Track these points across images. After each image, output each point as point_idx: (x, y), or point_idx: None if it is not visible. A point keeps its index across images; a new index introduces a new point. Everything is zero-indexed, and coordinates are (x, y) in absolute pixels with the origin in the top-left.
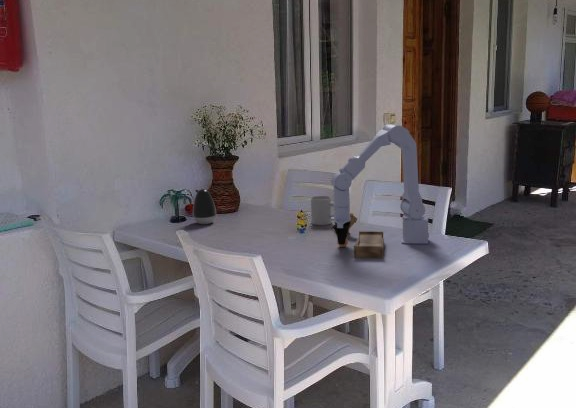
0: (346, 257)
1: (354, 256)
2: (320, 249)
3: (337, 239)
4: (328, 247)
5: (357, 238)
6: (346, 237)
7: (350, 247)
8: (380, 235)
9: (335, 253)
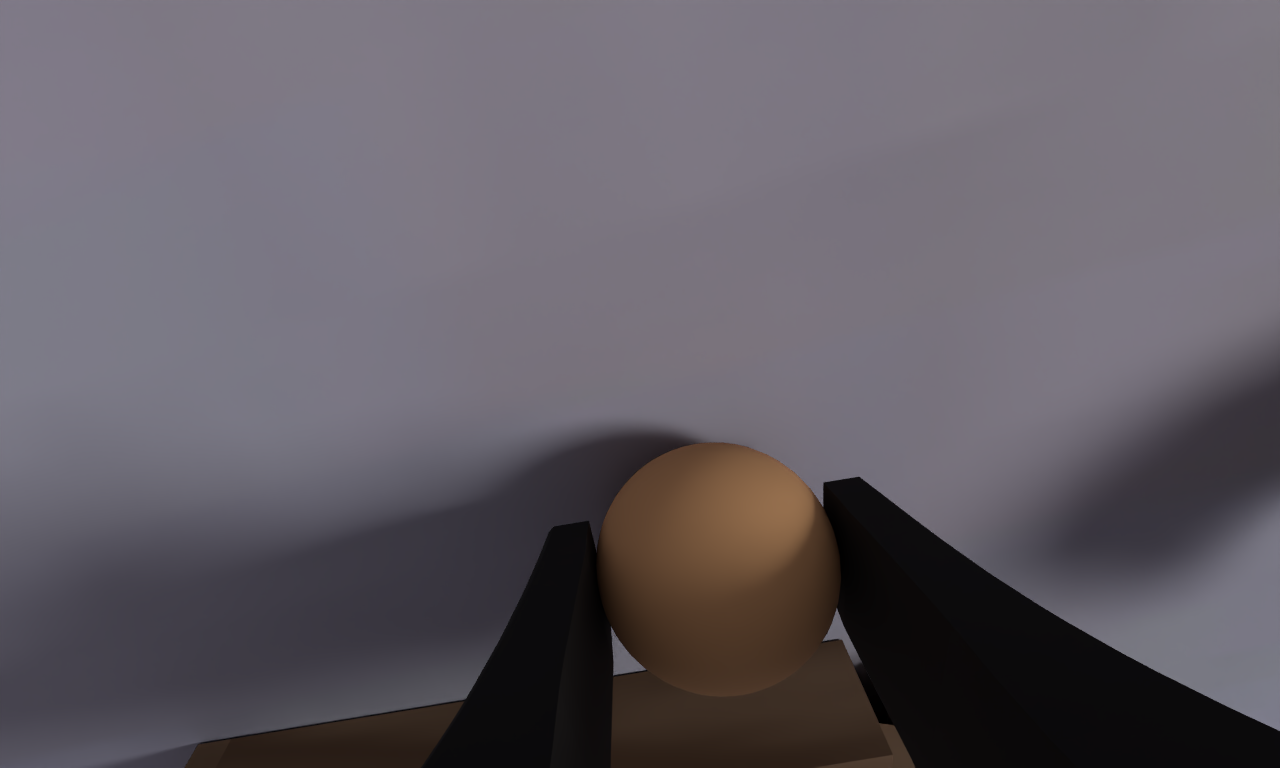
0: (134, 674)
1: (194, 760)
2: (378, 94)
3: (694, 517)
4: (604, 245)
5: (838, 765)
6: (854, 644)
7: None
8: None
9: (245, 488)
